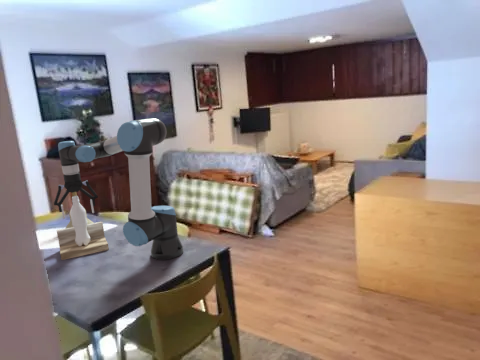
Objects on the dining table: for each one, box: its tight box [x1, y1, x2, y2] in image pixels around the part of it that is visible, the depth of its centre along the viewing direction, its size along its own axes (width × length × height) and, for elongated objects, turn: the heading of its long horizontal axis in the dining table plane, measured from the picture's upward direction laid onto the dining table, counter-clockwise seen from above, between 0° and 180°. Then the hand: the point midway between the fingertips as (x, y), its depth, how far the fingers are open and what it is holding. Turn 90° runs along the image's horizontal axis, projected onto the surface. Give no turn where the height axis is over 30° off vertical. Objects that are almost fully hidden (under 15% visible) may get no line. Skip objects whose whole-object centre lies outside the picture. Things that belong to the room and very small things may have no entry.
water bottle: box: [69, 195, 90, 246], centre depth 203 cm, size 7×7×25 cm
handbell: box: [65, 192, 94, 228], centre depth 238 cm, size 15×15×25 cm
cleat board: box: [56, 221, 110, 261], centre depth 205 cm, size 14×22×11 cm, turn 115°
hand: (78, 215), depth 202 cm, fingers open, 13 cm apart
